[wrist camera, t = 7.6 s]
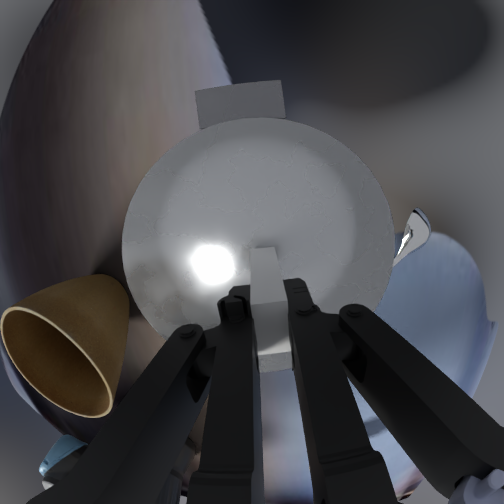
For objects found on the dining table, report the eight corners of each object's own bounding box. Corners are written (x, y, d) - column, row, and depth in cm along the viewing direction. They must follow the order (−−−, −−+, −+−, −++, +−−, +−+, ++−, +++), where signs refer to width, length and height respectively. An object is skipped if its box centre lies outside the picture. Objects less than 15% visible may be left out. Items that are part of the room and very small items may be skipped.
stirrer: (359, 347, 33) (334, 335, 32) (350, 333, 36) (326, 321, 36) (442, 223, 29) (423, 202, 28) (427, 219, 32) (407, 199, 31)
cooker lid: (169, 365, 23) (165, 377, 21) (102, 121, 15) (91, 120, 13) (373, 341, 22) (379, 352, 21) (377, 86, 14) (388, 82, 13)
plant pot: (55, 290, 34) (-6, 347, 19) (98, 226, 31) (15, 275, 16) (120, 355, 38) (82, 429, 23) (176, 306, 35) (139, 396, 19)
